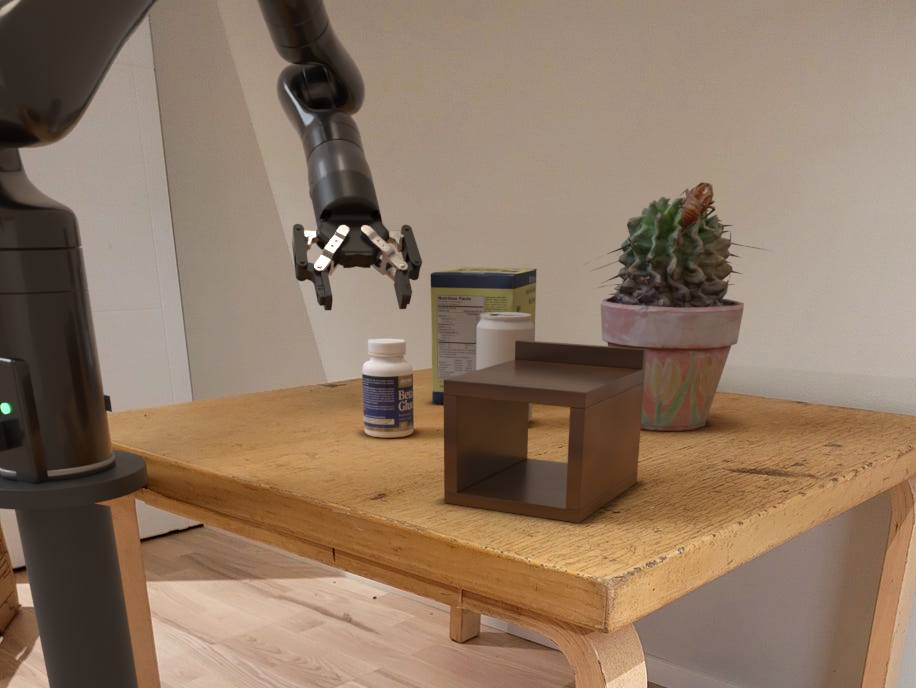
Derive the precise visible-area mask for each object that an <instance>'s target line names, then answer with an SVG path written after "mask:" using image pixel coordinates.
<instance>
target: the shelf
mask: <svg viewBox="0 0 916 688" xmlns="http://www.w3.org/2000/svg"><path fill="white" fill-rule="evenodd" d="M646 353H647V349H642V348H628V347H613V346H608V345H598V344H584V343H583V344H582V343H570V342H569V343H567V342H552V341H538V340H535V341H526V340H517V341H515V360H512V361H508V362H505V363H501V364H498V365H494V366H490V367H487V368H483V369H480V370H476V371H473V372H469V373H466V374H462V375H459V376H455V377H452V378H448V379H445V380H444V404H443V491H444V492H443V493H444V494H443V495H444V496H443V497H444V499H443V500H444V501H443V502H444V503H445V504H451V505H457V506H463V507H472V508H477V509H483V510H490V511H495V512H496V511H498V512H504V513H510V514H511V513H512V514H517V515H523V516H530V517H535V518H536V517H537V518H543V519H550V520H554V521H555V520H556V521H562V522H568V523H569V522H570V523H577V524H579V523H581V522H582V521H584V520H585V519H587V518H588V517H590V516H591V515H592V514H593V513H596V512H597V511H598V510H600V509H601V508H602V507H605V505H607V504H608V503H609V502H612V500H614V499H616V497H618V496H620V495H621V494H622V493H624V492H626V491H627V490H628V489H630V488H631V487H632V486H635V484H637V483H638V469H639V458H640V457H639V456H640V442H641V430H642V429H641V417H642V404H643V391H644V383H643V382H644V378H645V366H646ZM529 403H531V404H532V405H543V406H552V407H553V406H554V407H563V408H569V424H568V444H567V445H568V446H567V447H568V448H567V449H568V450H567V462H560V461H555V460H546V459H537V458H528V452H529V451H528V449H529V420H528V419H529Z"/></svg>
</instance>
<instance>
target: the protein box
mask: <svg viewBox="0 0 916 688" xmlns="http://www.w3.org/2000/svg"><path fill="white" fill-rule="evenodd" d="M537 270H538V269H537V268H522V267H521V268H520V267H519V268H518V267H495V266H494V267H489V266H488V267H487V266H486V267H485V266H459V267H456V268H451V269H445V270H440V271H435V272H431V273H430V313H431V314H430V315H431V316H430V318H431V319H430V321H431V324H430V325H431V386H432V387H431V388H432V389H431V393H432V396H431V398H432V404H439V405H444V380H445V379H448V378H452V377H455V376H459V375H462V374H466V373H469V372H473V371H476V337H477V324H478V323H479V321H480V320H481V317H480V314H481V313H488V312H517V313H527V314H531V322H532V323H533V325H534V341H536V308H537V306H536V305H537Z"/></svg>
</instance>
